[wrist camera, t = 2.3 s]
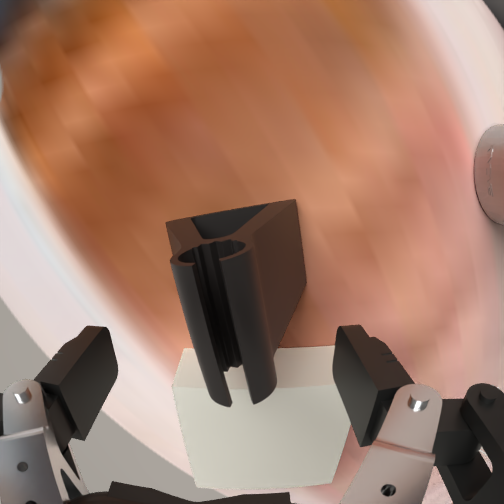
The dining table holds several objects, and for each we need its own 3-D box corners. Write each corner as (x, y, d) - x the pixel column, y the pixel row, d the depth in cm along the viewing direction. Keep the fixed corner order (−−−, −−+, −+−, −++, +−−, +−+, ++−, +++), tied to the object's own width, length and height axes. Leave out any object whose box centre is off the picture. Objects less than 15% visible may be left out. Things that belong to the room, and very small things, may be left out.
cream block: (343, 344, 24) (361, 381, 19) (323, 448, 28) (331, 483, 23) (184, 347, 24) (171, 386, 19) (201, 451, 28) (196, 487, 23)
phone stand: (185, 299, 23) (137, 411, 11) (166, 220, 21) (83, 281, 10) (305, 280, 22) (354, 387, 11) (295, 198, 21) (351, 239, 9)
